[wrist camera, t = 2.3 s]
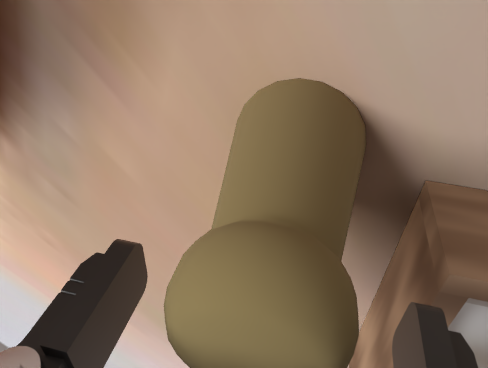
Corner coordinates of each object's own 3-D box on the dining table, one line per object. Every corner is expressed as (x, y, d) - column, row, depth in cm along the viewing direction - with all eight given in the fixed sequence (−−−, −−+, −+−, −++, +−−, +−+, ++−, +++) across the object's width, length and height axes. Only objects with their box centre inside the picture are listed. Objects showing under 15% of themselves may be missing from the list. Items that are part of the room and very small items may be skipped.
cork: (396, 132, 16) (447, 397, 7) (310, 210, 20) (277, 447, 11) (283, 49, 15) (190, 246, 6) (214, 148, 19) (97, 356, 10)
